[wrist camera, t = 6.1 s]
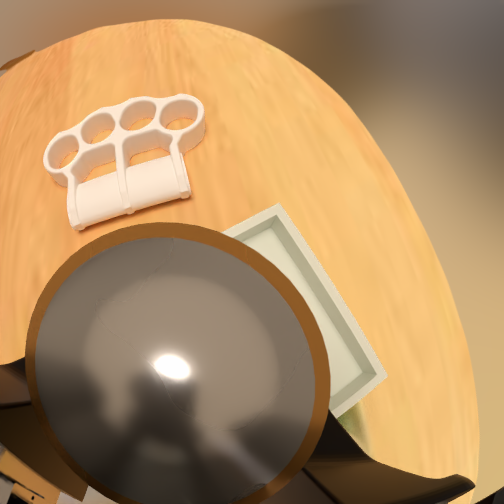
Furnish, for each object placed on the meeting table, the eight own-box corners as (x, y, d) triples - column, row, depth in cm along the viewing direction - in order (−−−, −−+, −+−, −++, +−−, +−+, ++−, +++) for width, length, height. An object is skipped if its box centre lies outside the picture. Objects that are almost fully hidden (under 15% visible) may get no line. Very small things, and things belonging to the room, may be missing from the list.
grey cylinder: (245, 381, 15) (331, 503, 2) (174, 383, 14) (52, 493, 2) (240, 312, 16) (313, 219, 4) (171, 314, 15) (33, 230, 3)
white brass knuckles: (55, 244, 23) (58, 138, 26) (226, 193, 26) (194, 96, 30) (38, 232, 20) (48, 121, 23) (227, 174, 23) (193, 75, 27)
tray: (370, 373, 22) (388, 375, 19) (209, 475, 18) (208, 490, 15) (272, 217, 26) (279, 202, 23) (105, 309, 21) (91, 305, 19)
